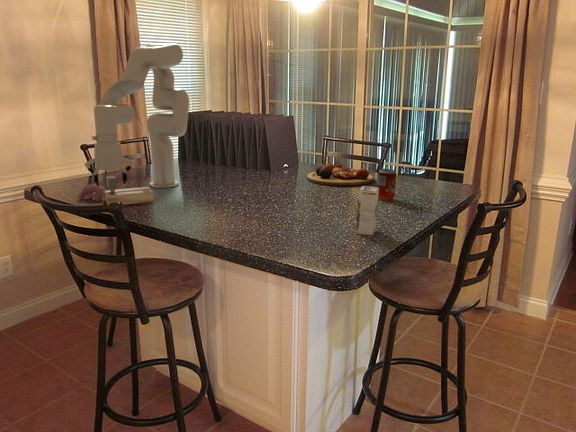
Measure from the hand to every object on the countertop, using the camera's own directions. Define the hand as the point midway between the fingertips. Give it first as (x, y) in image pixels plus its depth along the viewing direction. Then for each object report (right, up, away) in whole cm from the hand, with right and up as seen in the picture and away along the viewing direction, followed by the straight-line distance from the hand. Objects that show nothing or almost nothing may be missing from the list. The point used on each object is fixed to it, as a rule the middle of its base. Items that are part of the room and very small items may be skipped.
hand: (111, 183), depth 184 cm
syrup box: (+93, -18, -29) cm, 99 cm away
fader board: (+6, -6, +5) cm, 10 cm away
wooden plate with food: (+93, +5, +48) cm, 105 cm away
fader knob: (0, -3, +1) cm, 3 cm away
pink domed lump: (-10, -6, +7) cm, 13 cm away
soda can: (+107, -6, +11) cm, 108 cm away
